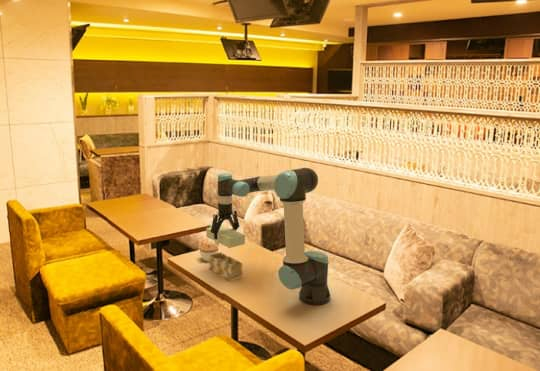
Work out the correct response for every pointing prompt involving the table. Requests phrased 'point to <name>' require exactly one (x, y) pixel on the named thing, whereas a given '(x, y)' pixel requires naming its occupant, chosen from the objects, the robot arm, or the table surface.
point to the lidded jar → (208, 251)
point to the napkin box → (225, 266)
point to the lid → (227, 237)
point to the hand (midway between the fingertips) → (225, 242)
